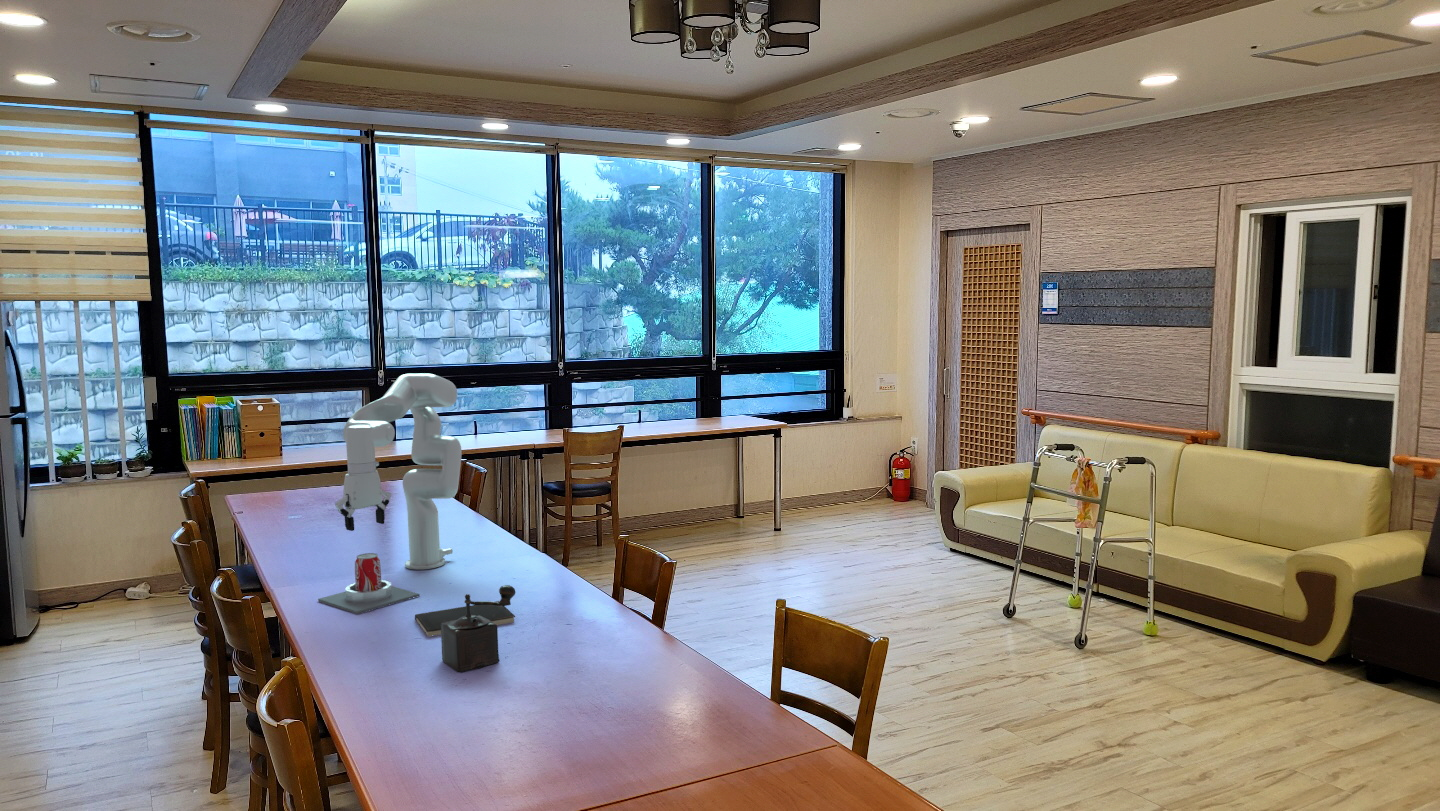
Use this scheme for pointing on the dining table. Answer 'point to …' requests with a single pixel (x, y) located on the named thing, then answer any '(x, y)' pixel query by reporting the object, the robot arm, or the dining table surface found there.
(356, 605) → the mat
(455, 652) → the manual coffee grinder
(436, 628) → the hardcover book
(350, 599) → the ring collar
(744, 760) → the dining table surface
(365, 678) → the dining table surface
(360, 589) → the soda can
